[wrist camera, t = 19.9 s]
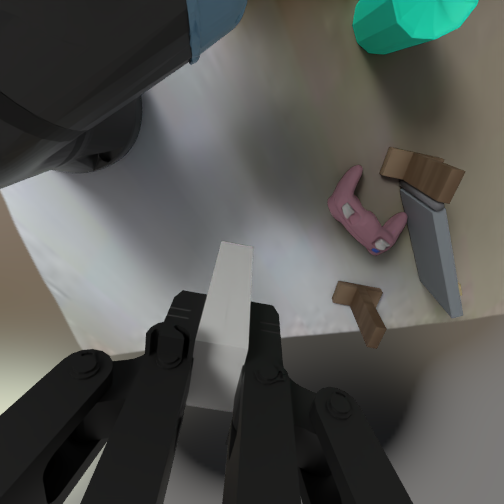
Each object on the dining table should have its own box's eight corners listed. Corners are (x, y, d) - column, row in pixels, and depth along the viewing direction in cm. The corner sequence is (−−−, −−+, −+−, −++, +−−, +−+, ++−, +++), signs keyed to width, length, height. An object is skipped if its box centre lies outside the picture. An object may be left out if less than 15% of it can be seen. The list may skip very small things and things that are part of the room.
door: (419, 279, 43) (453, 319, 35) (397, 181, 37) (431, 204, 30) (437, 273, 43) (476, 313, 35) (418, 173, 37) (459, 195, 29)
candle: (428, 22, 31) (518, -16, 20) (373, 69, 32) (428, 58, 22) (396, -40, 29) (477, -118, 18) (340, 14, 30) (382, -27, 20)
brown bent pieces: (331, 298, 45) (347, 343, 37) (389, 146, 36) (426, 163, 28) (372, 305, 46) (396, 351, 37) (439, 157, 36) (491, 177, 28)
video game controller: (327, 179, 39) (316, 215, 35) (358, 157, 36) (350, 194, 31) (378, 230, 42) (374, 269, 38) (411, 214, 39) (410, 254, 34)
